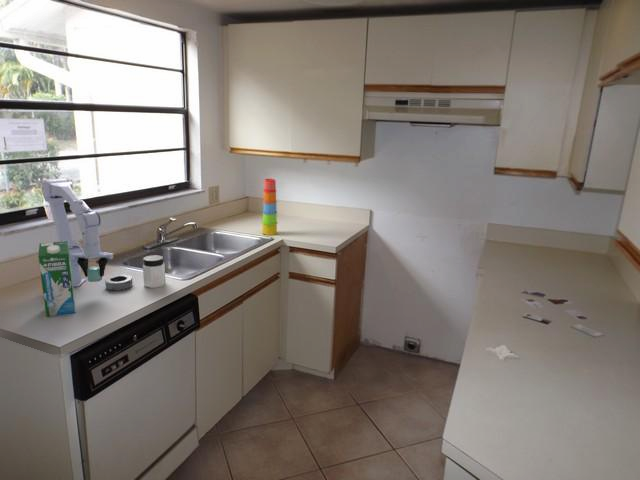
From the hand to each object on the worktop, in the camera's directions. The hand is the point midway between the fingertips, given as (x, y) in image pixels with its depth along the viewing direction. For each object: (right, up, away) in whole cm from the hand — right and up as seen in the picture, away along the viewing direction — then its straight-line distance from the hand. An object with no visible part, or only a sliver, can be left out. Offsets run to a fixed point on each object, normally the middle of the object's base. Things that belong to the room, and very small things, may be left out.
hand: (94, 275), depth 176 cm
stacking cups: (+57, +18, +107) cm, 122 cm away
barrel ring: (+4, -5, +12) cm, 14 cm away
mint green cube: (0, -1, 0) cm, 2 cm away
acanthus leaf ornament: (+149, -24, -29) cm, 154 cm away
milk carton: (-7, -12, -11) cm, 18 cm away
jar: (+18, -5, +16) cm, 25 cm away
